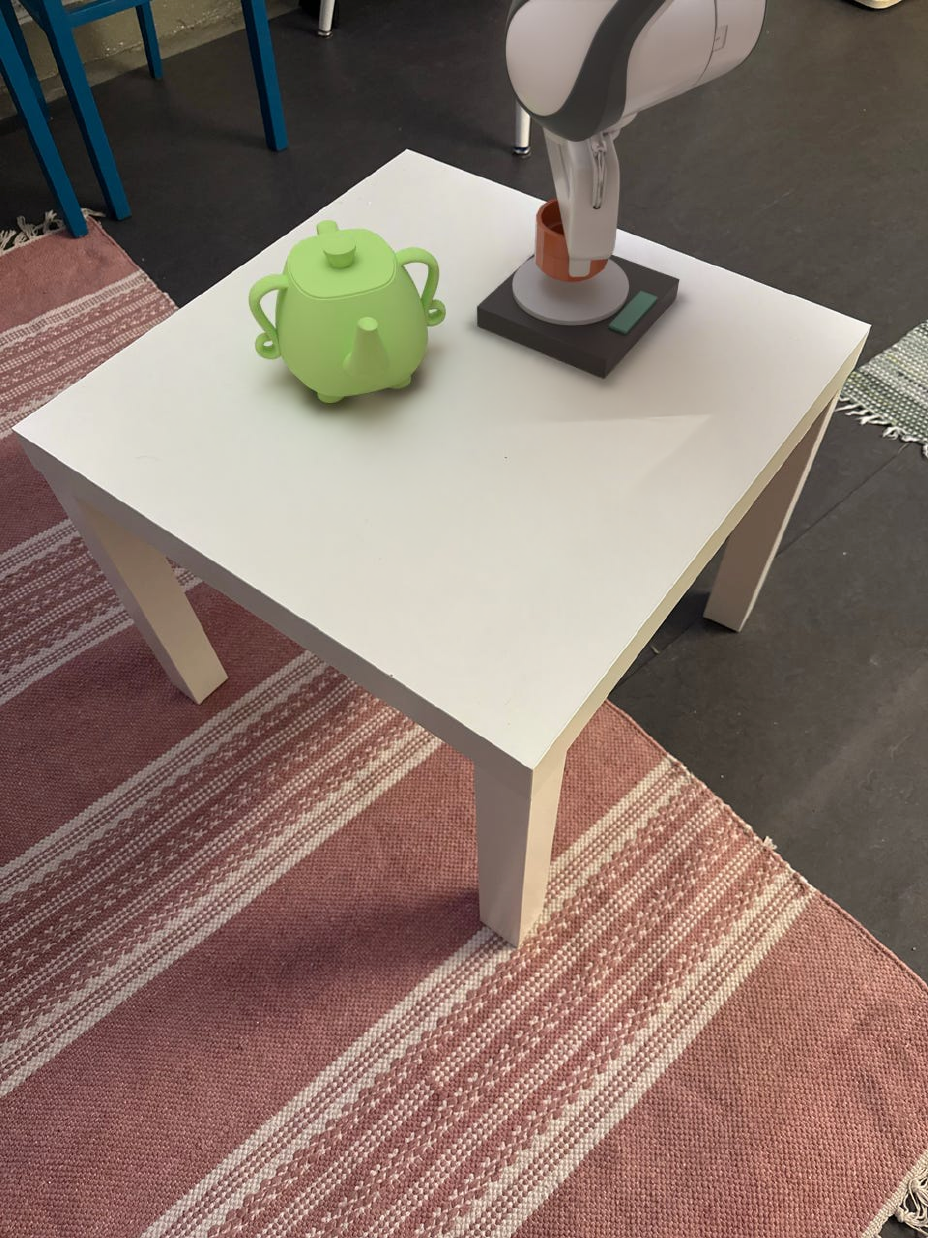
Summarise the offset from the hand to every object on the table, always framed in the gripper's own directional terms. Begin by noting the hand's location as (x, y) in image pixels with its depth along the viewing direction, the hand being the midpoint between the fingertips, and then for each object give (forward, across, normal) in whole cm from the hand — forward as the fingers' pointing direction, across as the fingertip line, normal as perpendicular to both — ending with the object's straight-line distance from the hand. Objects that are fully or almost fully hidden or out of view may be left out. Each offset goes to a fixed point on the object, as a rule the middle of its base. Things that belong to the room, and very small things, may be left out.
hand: (572, 244), depth 83 cm
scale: (+7, -1, -1) cm, 7 cm away
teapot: (+7, -8, +20) cm, 23 cm away
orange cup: (+2, 0, 0) cm, 2 cm away
